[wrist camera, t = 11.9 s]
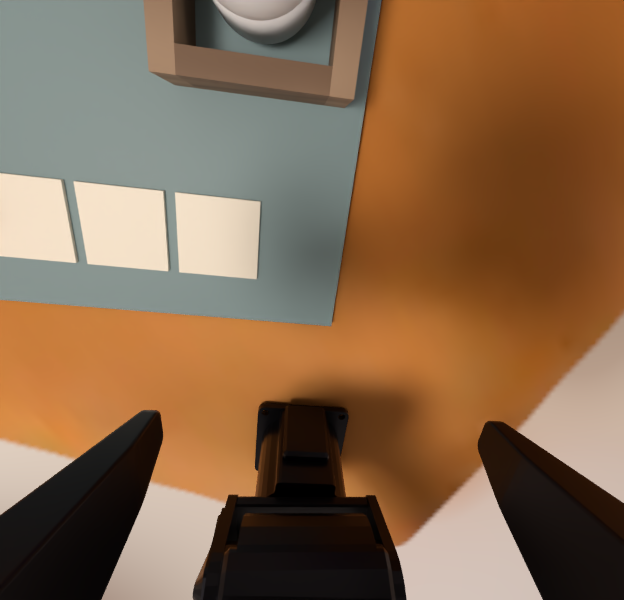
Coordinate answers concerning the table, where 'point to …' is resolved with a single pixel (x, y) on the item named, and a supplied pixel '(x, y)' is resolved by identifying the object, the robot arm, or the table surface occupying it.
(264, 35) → the dome
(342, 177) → the board
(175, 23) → the box
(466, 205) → the table surface
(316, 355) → the table surface
